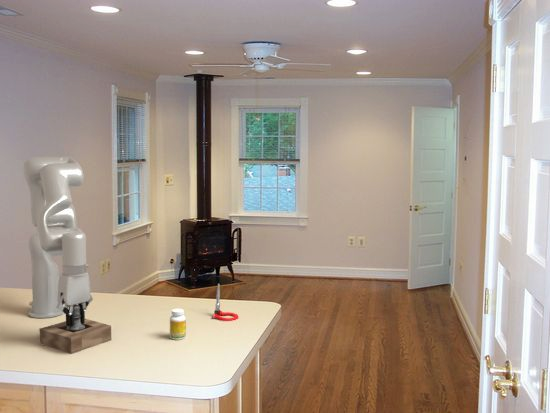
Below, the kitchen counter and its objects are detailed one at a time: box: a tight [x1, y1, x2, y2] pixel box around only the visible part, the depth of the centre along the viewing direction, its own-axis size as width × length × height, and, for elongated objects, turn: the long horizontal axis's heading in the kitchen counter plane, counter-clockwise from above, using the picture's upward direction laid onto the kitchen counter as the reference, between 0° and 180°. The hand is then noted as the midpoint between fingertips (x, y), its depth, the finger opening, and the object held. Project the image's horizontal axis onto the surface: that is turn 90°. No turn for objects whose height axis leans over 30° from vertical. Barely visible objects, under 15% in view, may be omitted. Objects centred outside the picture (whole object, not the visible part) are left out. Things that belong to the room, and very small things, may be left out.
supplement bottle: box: [169, 308, 187, 341], centre depth 204 cm, size 5×5×10 cm
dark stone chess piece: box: [66, 304, 85, 333], centre depth 197 cm, size 6×6×12 cm
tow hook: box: [211, 283, 240, 322], centre depth 227 cm, size 8×13×9 cm
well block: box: [39, 318, 112, 355], centre depth 198 cm, size 16×16×5 cm
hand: (75, 323), depth 198 cm, fingers closed on dark stone chess piece, 3 cm apart
